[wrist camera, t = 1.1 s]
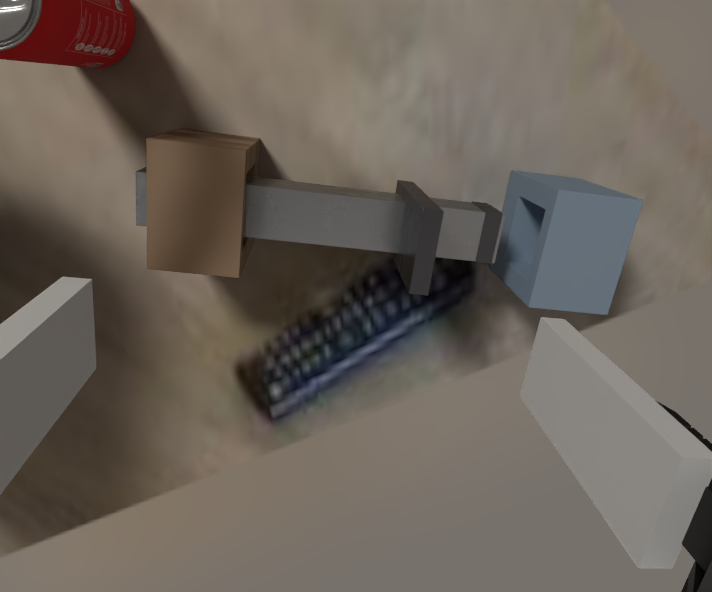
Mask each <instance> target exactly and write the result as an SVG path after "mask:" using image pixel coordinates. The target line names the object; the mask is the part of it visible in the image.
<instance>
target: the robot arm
mask: <svg viewBox="0 0 712 592" xmlns="http://www.w3.org/2000/svg"><path fill="white" fill-rule="evenodd" d="M96 368H97V366H96V346H95V327H94V308H93V289H92V279H85V278H73V277H61V278H60V279H59V280H57V281H56V282H55V283H53V284H52V285H51V286H49V287H48V288H47V289H46V290H44V291H43V292H42V293H40V294H39V295H38V296H36V297H35V298H34V299H32V300H31V301H30V302H29V303H27V304H26V305H25V306H23V307H22V308H21V309H19V310H18V311H17V312H15V313H14V314H13V315H12V316H10V317H9V318H8V319H6V320H5V321H4V322H2V323H1V324H0V495H1V494H2V492H3V491H4V490H5V488H6V487H7V486H8V484H9V483H10V482H11V480H12V479H13V478H14V477H15V475H16V474H17V473H18V471H19V470H20V469H21V467H22V466H23V465H24V463H25V462H26V461H27V459H28V458H29V457H30V455H31V454H32V453H33V451H34V450H35V449H36V448H37V446H38V445H39V444H40V442H41V441H42V440H43V438H44V437H45V436H46V434H47V433H48V432H49V430H50V429H51V428H52V426H53V425H54V424H55V422H56V421H57V420H58V418H59V417H60V416H61V415H62V413H63V412H64V411H65V409H66V408H67V407H68V405H69V404H70V403H71V401H72V400H73V399H74V397H75V396H76V395H77V393H78V392H79V391H80V389H81V388H82V387H83V386H84V384H85V383H86V382H87V380H88V379H89V378H90V376H91V375H92V374H93V372H94V371H95V370H96ZM520 397H521V398H522V400H523V401H524V402H525V404H526V406H527V407H528V408H529V410H530V411H531V413H532V414H533V416H534V417H535V419H536V420H537V422H538V423H539V424H540V426H541V427H542V429H543V430H544V432H545V433H546V435H547V436H548V438H549V439H550V440H551V442H552V443H553V445H554V446H555V448H556V449H557V451H558V452H559V453H560V455H561V457H562V458H563V459H564V461H565V462H566V464H567V465H568V467H569V468H570V469H571V471H572V473H573V474H574V475H575V477H576V478H577V480H578V481H579V483H580V484H581V486H582V487H583V488H584V490H585V491H586V493H587V494H588V496H589V497H590V499H591V500H592V502H593V503H594V504H595V506H596V508H597V509H598V510H599V512H600V513H601V515H602V516H603V518H604V519H605V521H606V522H607V524H608V525H609V526H610V528H611V529H612V531H613V532H614V534H615V535H616V537H617V538H618V540H619V541H620V542H621V544H622V545H623V547H624V548H625V550H626V551H627V553H628V554H629V555H630V557H631V558H632V560H633V561H634V563H635V564H636V566H637V567H638V568H656V569H672V568H673V566H674V564H675V562H676V559H677V557H678V555H679V552H680V550H681V548H682V546H684V547H685V548H686V550H687V551H688V552H689V553H690V555H691V556H692V557H693V558H694V559H695V563H694V565H693V567H692V569H691V571H690V574H689V576H688V578H687V580H686V582H685V585H684V587H683V589H682V592H712V444H711V443H710V442H709V441H708V440H707V439H703V436H702V435H701V434H700V433H699V432H698V431H697V430H695V429H694V428H691V425H690V424H689V423H688V422H686V421H685V420H684V419H683V418H682V417H681V416H680V415H678V414H677V413H676V412H675V411H673V410H671V409H669V408H668V407H666V406H664V405H662V404H661V403H659V402H657V401H655V400H654V399H653V398H651V396H649V395H648V394H647V393H646V392H645V391H644V390H643V389H642V388H641V387H639V386H638V385H637V384H636V383H635V382H634V381H633V380H632V379H630V378H629V377H628V376H627V375H626V374H625V373H624V372H623V371H622V370H621V369H619V368H618V367H617V366H616V365H615V364H614V363H613V362H612V361H610V360H609V359H608V358H607V357H606V356H605V355H604V354H603V353H602V352H601V351H599V350H598V349H597V348H596V347H595V346H594V345H593V344H592V343H591V342H590V341H588V340H587V339H586V338H585V337H584V336H583V335H582V334H581V333H580V332H578V331H577V330H576V329H575V328H574V327H573V326H572V325H571V324H570V323H568V322H567V321H566V320H565V319H558V318H546V317H541V318H540V322H539V326H538V329H537V333H536V337H535V341H534V345H533V348H532V352H531V356H530V360H529V364H528V368H527V371H526V375H525V379H524V383H523V386H522V390H521V394H520Z"/></svg>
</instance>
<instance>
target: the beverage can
mask: <svg viewBox="0 0 712 592" xmlns="http://www.w3.org/2000/svg"><path fill="white" fill-rule="evenodd" d="M134 34H135V19H134V13H133V10H132V7H131V4H130V2H129V0H0V59H6V60H16V61H26V62H36V63H47V64H57V65H67V66H77V67H88V68H103V67H107V66H110V65H113V64H115V63H116V62H118V61H119V60H121V59H122V58H123V57H124V56H125V55H126V53H127V52H128V51H129V49H130V47H131V45H132V42H133V39H134Z"/></svg>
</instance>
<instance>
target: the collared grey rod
mask: <svg viewBox="0 0 712 592" xmlns="http://www.w3.org/2000/svg"><path fill="white" fill-rule="evenodd" d="M504 220H505V214H504V213H502V212H501V211H499V210H498V209H496V208H494V207H493V206H491V205H489V204H487V203H480V202H463V201H455V200H446V199H438V198H430V197H428V196H427V195H426V194H425V193H424V192H423V191H422V190H421V189H420V188H419V187H418V186H417V185H416V184H415V183H413V182H409V181H401V180H398V181H397V187H396V193H387V192H379V191H370V190H362V189H354V188H345V187H337V186H328V185H320V184H311V183H303V182H294V181H286V180H278V179H269V178H261V177H252V176H246V189H245V207H244V224H243V237H251V238H260V239H269V240H279V241H288V242H298V243H307V244H317V245H326V246H335V247H345V248H354V249H364V250H373V251H383V252H390V253H391V255H392V257H393V260H394V262H395V264H396V266H397V268H398V271H399V273H400V275H401V277H402V279H403V282H404V284H405V286H406V288H407V290H408V292H409V294H417V295H427V296H428V293H429V288H430V283H431V277H432V272H433V267H434V261H435V257H439V258H449V259H458V260H467V261H475V262H477V263H486V264H492V263H495V259H496V255H497V250H498V246H499V242H500V237H501V233H502V228H503V224H504ZM136 225H138V226H147V170H146V167H145V168H143V169H140V170H138V171H136Z"/></svg>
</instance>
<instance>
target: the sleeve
mask: <svg viewBox="0 0 712 592" xmlns="http://www.w3.org/2000/svg"><path fill="white" fill-rule="evenodd" d="M259 147H260V139H259V138H251V137H244V136H236V135H228V134H220V133H212V132H204V131H196V130H188V129H178V130H174V131H171V132H167V133H164V134H160V135H157V136H153V137H150V138H146V170H147V269H152V270H163V271H173V272H183V273H193V274H203V275H214V276H224V277H234V278H239V276H240V274H241V272H242V269H243V267H244V264H245V262H246V259H247V257H248V255H249V252H250V250H251V247H252V245H253V241H254V238H251V237H243V224H244V207H245V189H246V176H252V177H258V163H259Z"/></svg>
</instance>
